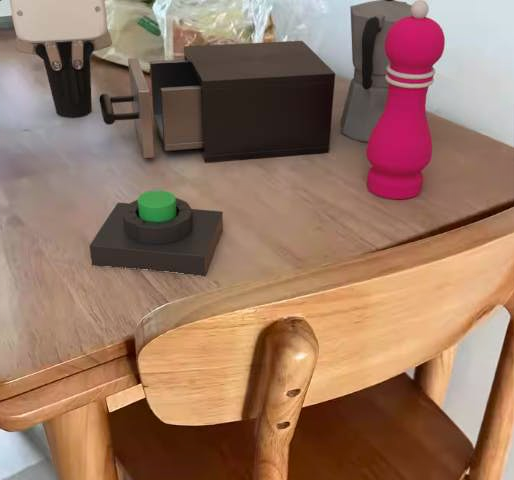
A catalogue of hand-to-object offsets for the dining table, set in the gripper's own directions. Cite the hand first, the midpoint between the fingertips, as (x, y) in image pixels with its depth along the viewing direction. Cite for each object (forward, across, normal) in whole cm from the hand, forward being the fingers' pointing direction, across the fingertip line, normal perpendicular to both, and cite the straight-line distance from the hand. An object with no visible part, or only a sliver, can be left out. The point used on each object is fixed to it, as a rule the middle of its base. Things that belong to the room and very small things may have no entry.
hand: (72, 100), depth 87 cm
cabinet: (+6, -22, 0) cm, 23 cm away
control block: (+6, -7, +26) cm, 28 cm away
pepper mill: (+7, -35, +18) cm, 40 cm away
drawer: (+5, -13, 0) cm, 14 cm away
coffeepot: (+7, -38, +2) cm, 38 cm away
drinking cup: (+6, 0, -13) cm, 15 cm away
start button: (+3, -7, +26) cm, 27 cm away
